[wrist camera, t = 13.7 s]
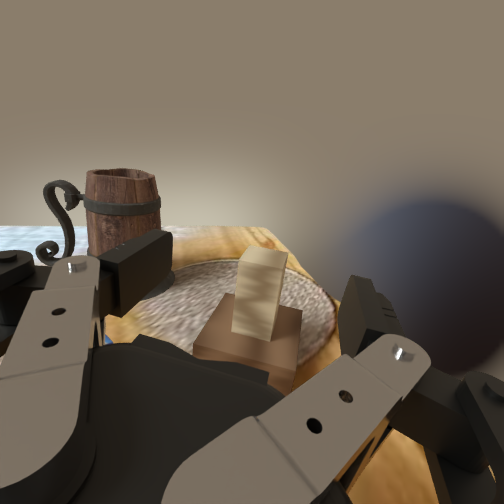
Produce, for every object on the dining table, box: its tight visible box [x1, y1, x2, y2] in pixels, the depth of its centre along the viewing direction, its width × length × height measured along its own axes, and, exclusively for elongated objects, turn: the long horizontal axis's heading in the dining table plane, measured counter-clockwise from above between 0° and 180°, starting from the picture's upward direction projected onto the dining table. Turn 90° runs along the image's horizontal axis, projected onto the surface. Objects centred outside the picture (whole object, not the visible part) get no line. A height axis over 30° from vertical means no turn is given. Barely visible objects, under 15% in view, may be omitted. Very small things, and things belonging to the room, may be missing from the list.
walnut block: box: [193, 293, 303, 396], centre depth 37 cm, size 12×12×5 cm
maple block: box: [231, 245, 288, 342], centre depth 34 cm, size 5×5×10 cm
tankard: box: [36, 168, 175, 301], centre depth 48 cm, size 24×17×20 cm
